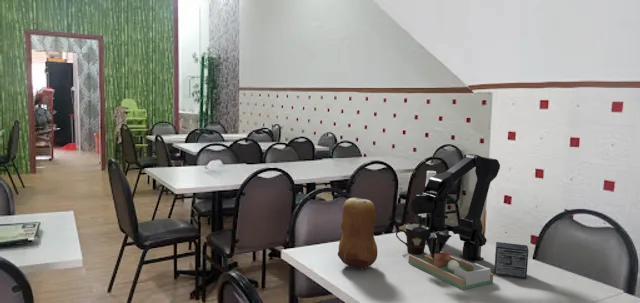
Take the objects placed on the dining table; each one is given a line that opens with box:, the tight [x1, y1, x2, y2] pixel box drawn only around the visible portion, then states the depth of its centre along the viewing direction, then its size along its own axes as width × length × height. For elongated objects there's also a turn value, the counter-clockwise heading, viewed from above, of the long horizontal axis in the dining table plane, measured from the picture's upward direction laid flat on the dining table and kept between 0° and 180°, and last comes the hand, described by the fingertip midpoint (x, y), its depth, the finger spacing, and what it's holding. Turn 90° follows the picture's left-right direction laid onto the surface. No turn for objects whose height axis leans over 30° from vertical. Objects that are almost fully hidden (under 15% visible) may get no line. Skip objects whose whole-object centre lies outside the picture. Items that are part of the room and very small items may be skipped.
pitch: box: [407, 251, 494, 290], centre depth 170 cm, size 14×27×5 cm, turn 29°
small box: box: [493, 241, 530, 280], centre depth 170 cm, size 11×6×10 cm, turn 71°
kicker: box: [423, 242, 451, 267], centre depth 176 cm, size 6×8×7 cm
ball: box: [447, 260, 459, 272], centre depth 168 cm, size 4×4×4 cm
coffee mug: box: [395, 224, 428, 256], centre depth 192 cm, size 12×9×10 cm
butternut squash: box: [337, 197, 378, 270], centre depth 171 cm, size 14×13×25 cm
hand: (434, 253), depth 176 cm, fingers closed on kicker, 3 cm apart
